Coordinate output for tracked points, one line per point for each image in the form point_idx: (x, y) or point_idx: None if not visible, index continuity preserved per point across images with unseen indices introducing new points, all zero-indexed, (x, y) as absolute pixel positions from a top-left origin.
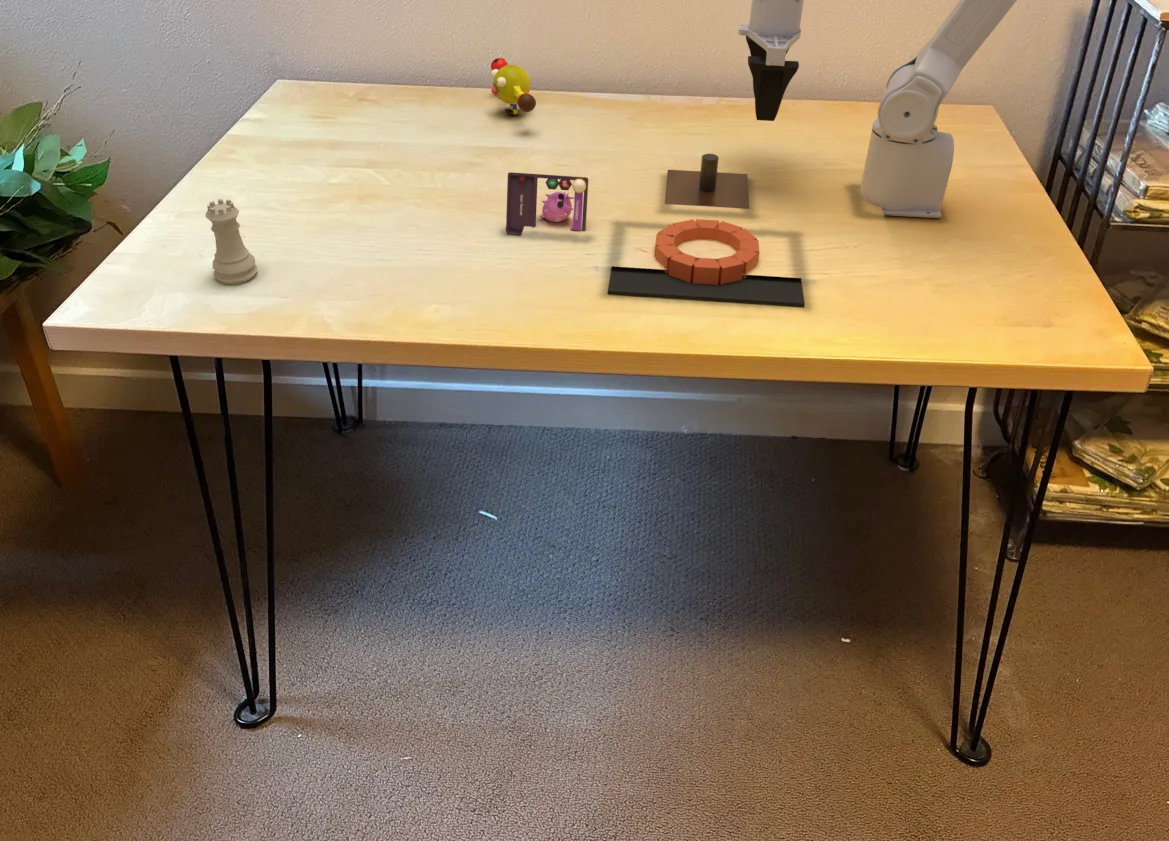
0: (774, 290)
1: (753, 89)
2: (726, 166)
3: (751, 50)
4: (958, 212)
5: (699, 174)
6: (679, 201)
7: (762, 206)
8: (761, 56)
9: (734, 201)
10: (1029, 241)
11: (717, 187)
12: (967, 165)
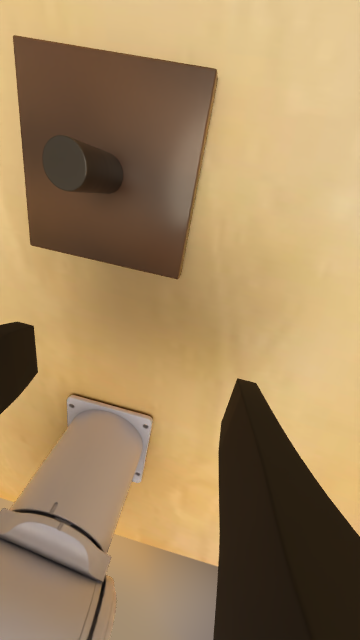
0: None
1: (239, 392)
2: (258, 252)
3: (295, 635)
4: None
5: (178, 166)
6: (31, 84)
7: (81, 276)
8: (252, 596)
9: (53, 222)
10: None
11: (110, 199)
12: (210, 533)
